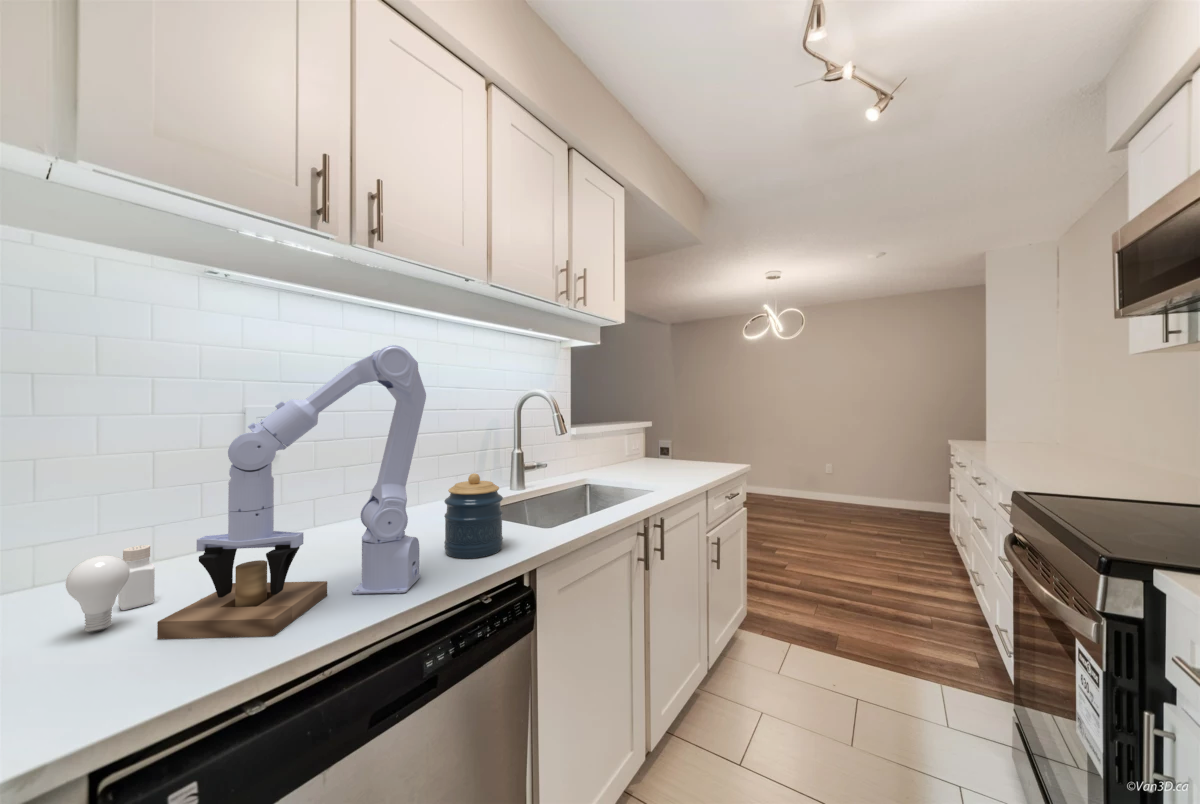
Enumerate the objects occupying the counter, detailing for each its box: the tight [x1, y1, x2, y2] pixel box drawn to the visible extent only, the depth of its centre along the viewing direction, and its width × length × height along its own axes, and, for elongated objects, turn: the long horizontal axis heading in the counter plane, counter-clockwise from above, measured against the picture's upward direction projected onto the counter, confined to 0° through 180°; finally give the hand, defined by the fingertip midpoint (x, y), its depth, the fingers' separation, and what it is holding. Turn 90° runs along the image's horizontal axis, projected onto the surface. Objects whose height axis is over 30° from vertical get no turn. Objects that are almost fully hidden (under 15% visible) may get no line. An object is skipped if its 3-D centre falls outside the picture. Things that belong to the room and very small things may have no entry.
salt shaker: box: [117, 544, 156, 611], centre depth 76 cm, size 4×4×10 cm
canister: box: [443, 472, 504, 559], centre depth 104 cm, size 13×13×18 cm
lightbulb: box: [65, 554, 130, 633], centre depth 67 cm, size 6×6×11 cm
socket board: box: [156, 580, 328, 640], centre depth 72 cm, size 16×14×2 cm
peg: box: [234, 559, 268, 607], centre depth 72 cm, size 4×4×8 cm
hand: (251, 593), depth 72 cm, fingers open, 7 cm apart
